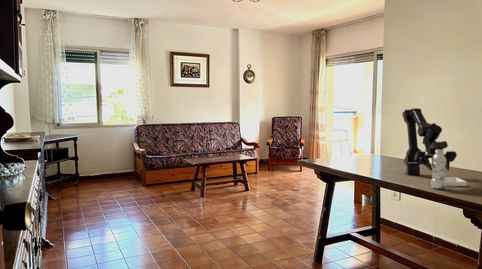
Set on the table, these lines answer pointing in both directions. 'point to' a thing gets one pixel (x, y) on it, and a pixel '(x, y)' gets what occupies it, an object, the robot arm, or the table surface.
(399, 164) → the table surface
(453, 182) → the tray
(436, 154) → the plastic bottle
